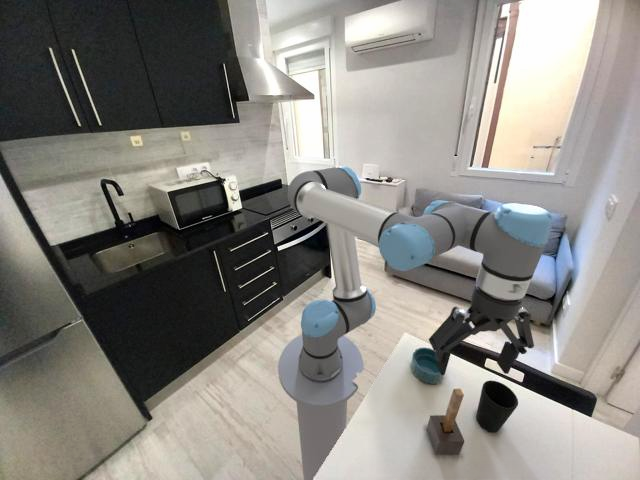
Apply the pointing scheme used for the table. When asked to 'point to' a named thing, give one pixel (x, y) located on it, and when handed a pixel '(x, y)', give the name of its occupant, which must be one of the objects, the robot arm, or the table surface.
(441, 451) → the holder
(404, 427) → the table surface
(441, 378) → the bowl
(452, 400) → the stick
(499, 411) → the cup
